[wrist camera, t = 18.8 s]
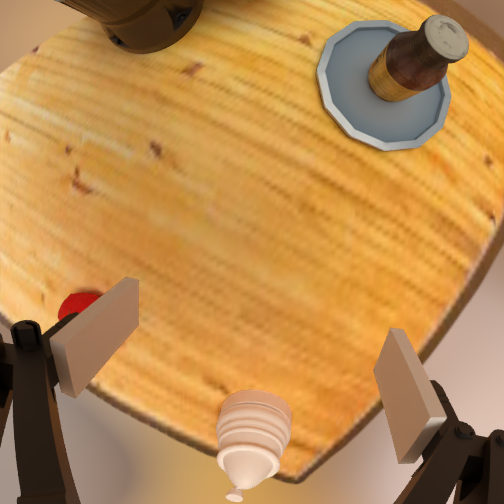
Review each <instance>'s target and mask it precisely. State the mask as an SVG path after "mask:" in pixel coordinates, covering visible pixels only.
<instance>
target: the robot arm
mask: <svg viewBox="0 0 504 504" xmlns="http://www.w3.org/2000/svg"><path fill="white" fill-rule="evenodd" d="M55 1H58V2H60V3H62V4H65V5H67V6H69V7H71V8H73V9H75V10H77V11H79V12H81V13H83V14H85V15H87V16H89V17H91V18H93V19H95V20H97V21H99V22H100V24H101V26H102V27H103V29H104V31H105V33H106V34H107V36H108V38H109V39H110V40H111V41H112V42H113V43H114V44H115V45H117V46H118V47H120V48H122V49H124V50H126V51H129V52H132V53H151V52H155V51H158V50H161V49H164V48H166V47H168V46H170V45H172V44H173V43H175V42H176V41H178V40H179V39H180V38H182V37H183V36H184V35H185V34H186V33H187V32H188V31H189V30H190V29H191V28H192V26H193V25H194V23H195V22H196V20H197V18H198V16H199V14H200V12H201V8H202V1H203V0H55ZM138 300H139V280H137V279H133V278H129V277H125V278H124V279H123V280H121V281H120V282H119V283H118V284H116V285H115V286H114V287H112V288H111V289H110V290H109V291H107V292H106V293H105V294H104V295H102V296H101V297H100V298H99V299H97V300H96V301H95V302H94V303H92V304H91V305H90V306H89V307H87V308H86V309H85V310H84V311H82V312H81V313H78V312H74V313H71V314H69V315H66V316H65V317H64V318H63V319H61V320H60V322H58V323H56V324H55V326H53V327H51V328H50V329H49V330H48V331H46V332H45V333H44V334H43V335H42V334H41V329H40V326H39V324H38V323H37V322H35V321H32V320H24V321H19V322H17V323H15V324H14V325H13V326H12V327H11V329H10V331H11V335H12V339H13V343H14V344H9V343H4V342H3V338H2V335H1V334H0V446H1V442H2V437H3V433H4V429H5V425H6V421H7V417H8V414H9V410H10V406H11V403H12V399H13V424H14V440H15V451H16V461H17V469H18V477H19V484H20V489H21V496H20V497H18V498H17V504H81V503H80V500H79V497H78V493H77V490H76V487H75V483H74V480H73V477H72V473H71V469H70V465H69V461H68V457H67V453H66V448H65V444H64V439H63V435H62V430H61V424H60V419H59V413H58V408H57V401H56V394H55V390H54V387H55V386H56V384H57V383H58V382H59V385H60V389H61V392H62V393H64V394H66V395H68V396H71V397H73V398H75V399H76V398H77V397H78V395H79V394H80V393H81V392H82V391H83V390H84V388H85V387H86V386H87V385H88V384H89V382H90V381H91V380H92V379H93V378H94V376H95V375H96V374H97V373H98V372H99V370H100V369H101V368H102V367H103V366H104V365H105V363H106V362H107V361H108V360H109V359H110V357H111V356H112V355H113V354H114V353H115V352H116V350H117V349H118V348H119V347H120V346H121V345H122V344H123V342H124V341H125V340H126V339H127V338H128V337H129V335H130V334H131V333H132V332H133V331H134V330H135V329H136V327H137V326H138V325H139V313H138ZM373 371H374V374H375V378H376V381H377V384H378V388H379V391H380V395H381V398H382V402H383V405H384V409H385V413H386V416H387V419H388V424H389V427H390V431H391V435H392V439H393V443H394V447H395V451H396V455H397V459H398V463H399V464H406V463H407V464H409V463H415V462H416V461H417V459H418V458H419V457H420V455H421V454H422V457H423V460H424V461H423V463H422V464H421V465H420V466H419V468H418V469H417V470H416V472H414V474H413V475H412V478H411V480H410V481H409V483H408V484H407V486H406V487H405V489H404V490H403V491H402V493H401V494H400V495H399V497H398V498H397V500H396V501H395V502H394V504H446V502H447V501H448V499H449V497H450V495H451V493H452V491H453V489H454V487H455V485H456V490H455V495H454V501H453V504H504V431H503V430H499V429H497V430H494V431H493V432H492V433H491V434H490V436H489V437H482V436H478V435H476V434H475V431H474V429H473V428H472V427H471V426H470V425H468V424H467V423H464V422H461V421H459V420H458V418H457V416H456V414H455V411H454V409H453V407H452V406H451V404H450V402H449V399H448V397H447V396H446V394H445V392H444V390H443V388H442V387H441V386H440V385H439V384H438V383H437V382H436V381H435V380H429V378H428V376H427V374H426V372H425V370H424V368H423V366H422V364H421V362H420V360H419V358H418V356H417V354H416V352H415V351H414V349H413V347H412V345H411V343H410V341H409V339H408V337H407V336H406V334H405V332H404V330H403V329H397V328H390V330H389V332H388V335H387V337H386V340H385V343H384V345H383V348H382V350H381V353H380V355H379V358H378V360H377V363H376V365H375V367H374V370H373ZM456 483H457V484H456Z"/></svg>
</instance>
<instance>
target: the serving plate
mask: <svg viewBox="0 0 504 504" xmlns="http://www.w3.org/2000/svg"><path fill="white" fill-rule="evenodd" d="M405 31H410V30H408V29H406V28H404V27H402V26H399V25H397V24H395V23H393V22H391V21H388V20H374V21H354V22H352V23H351V24H349V25H348V26H346V27H345V28H343V29H342V30H340V31H339V32H338V33H336V34H335V35H333V36H332V37H330V38H329V39H328V40H327V43H326V46H325V48H324V51H323V54H322V57H321V60H320V62H319V65H318V68H317V71H316V78H317V82H318V86H319V90H320V95H321V99H322V104H323V108H324V110H325V111H326V112H327V113H328V114H329V115H330V116H331V118H332V119H333V120H334V121H335V122H336V123H337V125H338V126H339V127H340V128H341V129H342V131H343V132H344V133H345V134H346V135H347V136H348V137H349V138H352V139H354V140H357V141H359V142H361V143H364V144H366V145H368V146H371V147H373V148H375V149H377V150H380V151H390V150H399V149H409V148H418V147H420V146H421V145H423V144H424V143H425V142H426V141H427V140H429V139H430V138H431V137H432V136H433V135H434V134H436V133H437V132H438V131H439V130H440V129H442V127H443V125H444V122H445V118H446V115H447V111H448V108H449V104H450V100H451V92H450V88H449V84H448V80H447V76H446V74H445V76H444V78H443V79H442V80H441V81H440V82H439V83H438V84H436V85H434V86H432V87H431V88H429V89H427V90H425V91H423V92H420V93H418V94H416V95H414V96H412V97H410V98H407V99H405V100H403V101H399V102H389V101H388V102H387V101H384V100H382V99H381V98H380V97H378V96H377V95H376V94H375V93H374V92H373V91H372V90H371V88H370V85H369V80H368V72H369V69H370V66H371V64H372V63H373V62H374V60H375V59H376V58H377V57H378V55H379V54H380V53H381V52H382V50H383V49H384V48H385V47H386V45H387V44H388V43H389V41H390V40H391V39H392V38H393V37H394V36H395V35H397V34H398V33H401V32H405Z"/></svg>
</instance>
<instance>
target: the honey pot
mask: <svg viewBox="0 0 504 504" xmlns="http://www.w3.org/2000/svg"><path fill="white" fill-rule="evenodd" d="M291 421H292V412H291V409H290V407H289V405H288V404H287V403H286V401H284V400H283V399H282V398H281V397H279V396H277V395H275V394H273V393H271V392H267V391H263V390H254V389H249V390H242V391H239V392H236V393H233V394H232V395H230V396H229V397H227V399H226V400H225V401H224V402H223V405H222V408H221V412H220V415H219V418H218V422H217V425H216V433H217V438H218V448H219V450H220V452H219V453H218V455H217V463H218V464H219V466H220V468H221V469H222V470H223V471H225V472H226V473H227V475H228V477H229V479H230V480H231V482H232V483H233V484H234V485H235V486H236V487H234V488H232V489H230V490H229V491H228V492H227V494H226V499H228V500H230V501H233V502H241V501H242V500H243V493H242V491H241V490H240V489H250V488H253V487H255V486H256V485H258V484H259V483H260V482H261V481H263V480H264V479H266V478H269V477H271V476H273V475H274V474H276V473H277V472H278V470H279V468H280V461H279V459H280V458H281V456H282V454H283V451H284V450H285V448H286V446H287V444H288V443H289V441H290V437H291Z"/></svg>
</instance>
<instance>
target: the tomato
mask: <svg viewBox="0 0 504 504" xmlns="http://www.w3.org/2000/svg"><path fill="white" fill-rule="evenodd" d="M99 298H100V297H98V296H97V295H94V294H90V293H74V294H70V295H69V296H68V297H67V298H66V299H65V300H64V301H63V303H62V305H61V307H60V309H59V311H58V319H59V322H60V320H61V319H63V318H64V317H65V316H66V315H69V314H71V313H74V312H78V313H81V312H82V311H84V310H85V309H86V308H87V307H89V306H90V305H91V304H92V303H94V302H95V301H96V300H97V299H99Z"/></svg>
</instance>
